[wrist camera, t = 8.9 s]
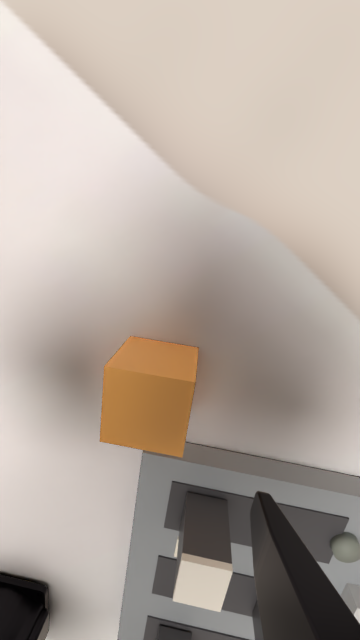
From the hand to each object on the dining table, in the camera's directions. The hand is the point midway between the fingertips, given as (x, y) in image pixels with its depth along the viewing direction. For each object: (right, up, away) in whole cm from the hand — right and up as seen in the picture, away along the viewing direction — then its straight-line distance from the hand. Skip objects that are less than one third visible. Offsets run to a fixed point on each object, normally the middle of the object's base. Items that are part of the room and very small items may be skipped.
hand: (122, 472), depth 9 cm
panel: (+8, -13, +10) cm, 19 cm away
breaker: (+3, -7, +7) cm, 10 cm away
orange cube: (+1, +2, +7) cm, 7 cm away
